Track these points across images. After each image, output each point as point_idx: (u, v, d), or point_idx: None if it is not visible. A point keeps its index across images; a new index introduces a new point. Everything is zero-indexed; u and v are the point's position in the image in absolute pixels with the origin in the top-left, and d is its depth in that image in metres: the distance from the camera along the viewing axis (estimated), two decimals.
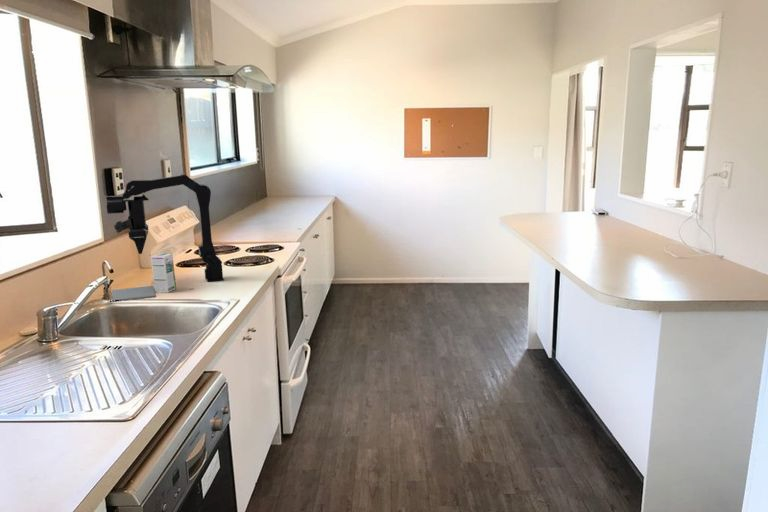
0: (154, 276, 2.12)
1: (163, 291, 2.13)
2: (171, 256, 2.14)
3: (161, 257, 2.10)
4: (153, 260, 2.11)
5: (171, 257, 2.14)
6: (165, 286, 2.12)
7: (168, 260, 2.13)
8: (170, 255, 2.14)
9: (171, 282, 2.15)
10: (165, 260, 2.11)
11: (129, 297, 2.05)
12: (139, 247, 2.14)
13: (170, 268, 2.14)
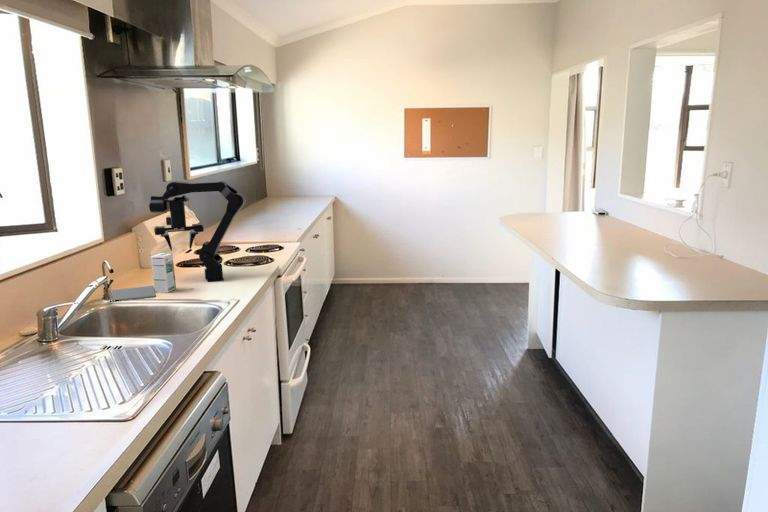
0: (154, 276, 2.12)
1: (163, 291, 2.13)
2: (171, 256, 2.14)
3: (161, 257, 2.10)
4: (153, 260, 2.11)
5: (171, 257, 2.14)
6: (165, 286, 2.12)
7: (168, 260, 2.13)
8: (170, 255, 2.14)
9: (171, 282, 2.15)
10: (165, 260, 2.11)
11: (129, 297, 2.05)
12: (168, 244, 2.27)
13: (170, 269, 2.14)
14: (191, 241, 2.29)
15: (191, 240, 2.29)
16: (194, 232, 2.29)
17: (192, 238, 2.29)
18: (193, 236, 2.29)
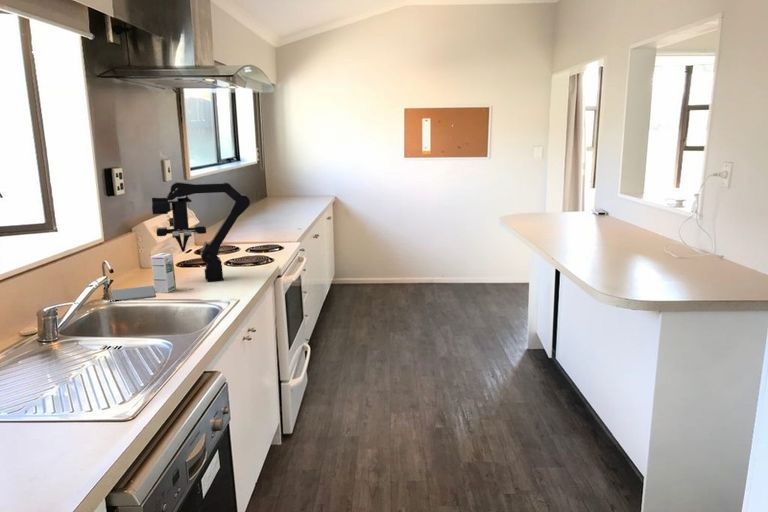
0: (154, 276, 2.12)
1: (163, 291, 2.13)
2: (171, 256, 2.14)
3: (161, 257, 2.10)
4: (153, 260, 2.11)
5: (171, 257, 2.14)
6: (165, 286, 2.12)
7: (168, 260, 2.13)
8: (170, 255, 2.14)
9: (171, 282, 2.15)
10: (165, 260, 2.11)
11: (129, 297, 2.05)
12: None
13: (170, 268, 2.14)
14: (184, 243, 2.24)
15: (184, 242, 2.24)
16: (187, 234, 2.24)
17: (185, 240, 2.24)
18: (186, 238, 2.23)
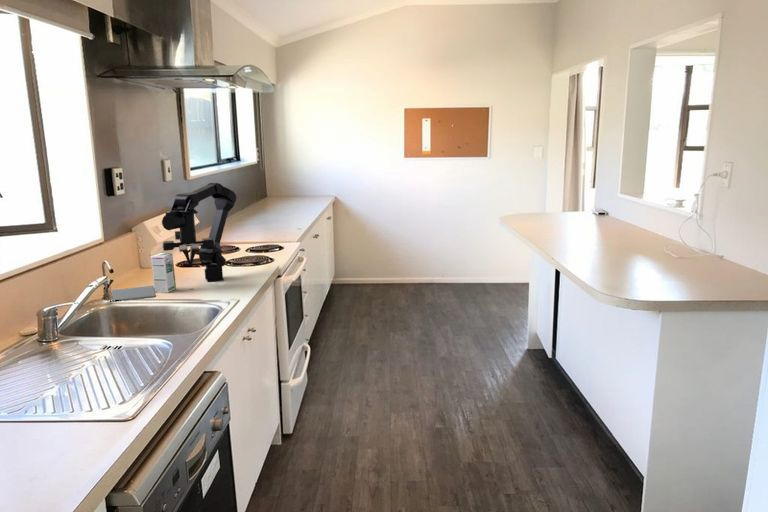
0: (154, 276, 2.12)
1: (163, 291, 2.13)
2: (171, 256, 2.14)
3: (161, 257, 2.10)
4: (153, 260, 2.11)
5: (171, 257, 2.14)
6: (165, 286, 2.12)
7: (168, 260, 2.13)
8: (170, 255, 2.14)
9: (171, 282, 2.15)
10: (165, 260, 2.11)
11: (129, 297, 2.05)
12: None
13: (170, 269, 2.14)
14: (192, 257, 2.16)
15: (192, 256, 2.16)
16: (195, 248, 2.16)
17: (193, 254, 2.16)
18: (194, 252, 2.15)
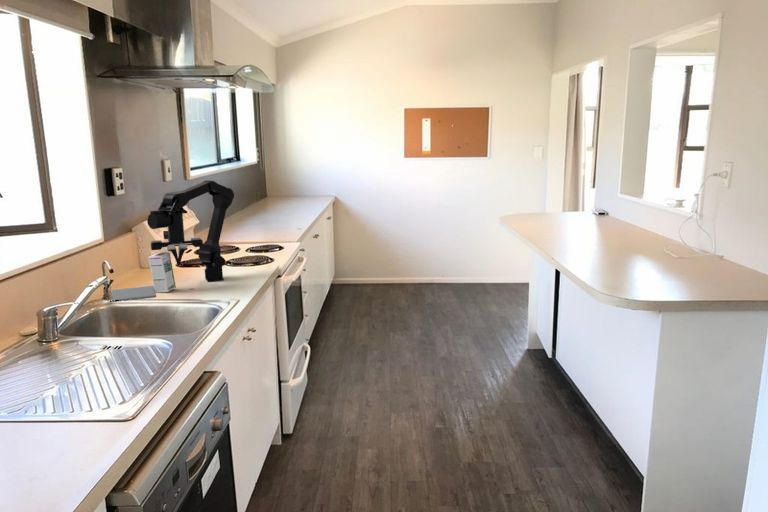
0: (153, 276, 2.12)
1: (163, 291, 2.13)
2: (168, 255, 2.14)
3: (158, 257, 2.10)
4: (151, 260, 2.11)
5: (168, 256, 2.14)
6: (165, 286, 2.12)
7: (166, 260, 2.12)
8: (168, 254, 2.14)
9: (171, 281, 2.15)
10: (163, 259, 2.10)
11: (129, 297, 2.05)
12: (175, 259, 2.15)
13: (168, 268, 2.13)
14: (180, 257, 2.14)
15: (180, 256, 2.14)
16: (183, 248, 2.14)
17: (181, 254, 2.14)
18: (182, 252, 2.13)
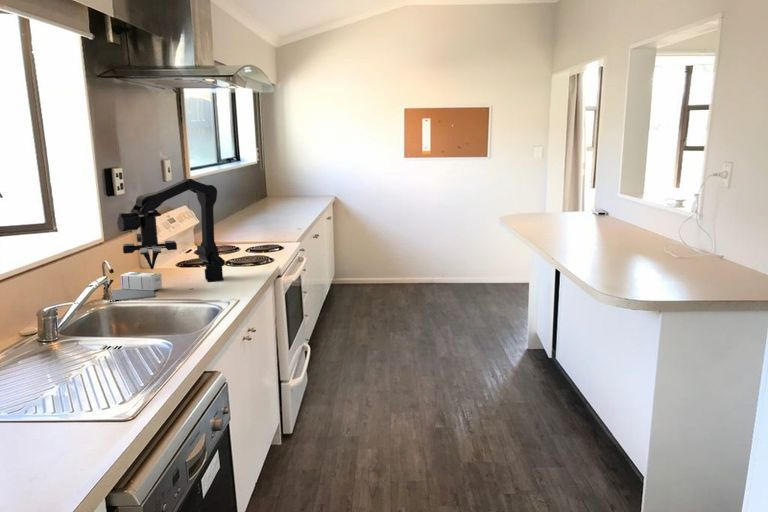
0: (139, 288, 2.14)
1: (152, 281, 2.13)
2: (130, 272, 2.19)
3: (121, 277, 2.15)
4: (124, 286, 2.16)
5: (130, 272, 2.19)
6: (147, 277, 2.13)
7: (129, 273, 2.17)
8: (129, 272, 2.19)
9: (150, 274, 2.16)
10: (124, 274, 2.15)
11: (129, 297, 2.05)
12: (148, 262, 2.11)
13: (137, 273, 2.17)
14: (153, 261, 2.10)
15: (153, 259, 2.10)
16: (157, 251, 2.10)
17: (154, 257, 2.10)
18: (155, 255, 2.10)
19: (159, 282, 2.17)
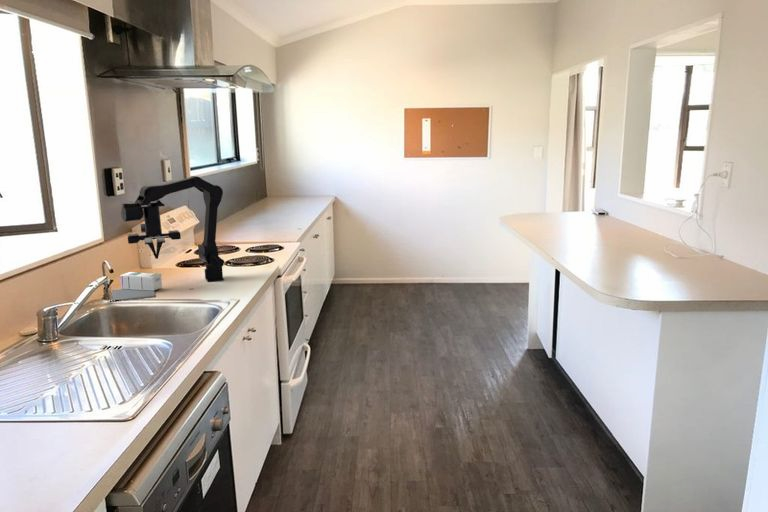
0: (139, 288, 2.14)
1: (152, 281, 2.13)
2: (130, 272, 2.19)
3: (121, 278, 2.15)
4: (124, 286, 2.16)
5: (130, 272, 2.19)
6: (147, 277, 2.13)
7: (129, 273, 2.17)
8: (128, 272, 2.19)
9: (150, 274, 2.16)
10: (124, 274, 2.15)
11: (129, 297, 2.05)
12: None
13: (137, 273, 2.17)
14: (158, 250, 2.14)
15: (158, 249, 2.13)
16: (161, 240, 2.14)
17: (159, 247, 2.13)
18: (160, 245, 2.13)
19: (159, 282, 2.17)
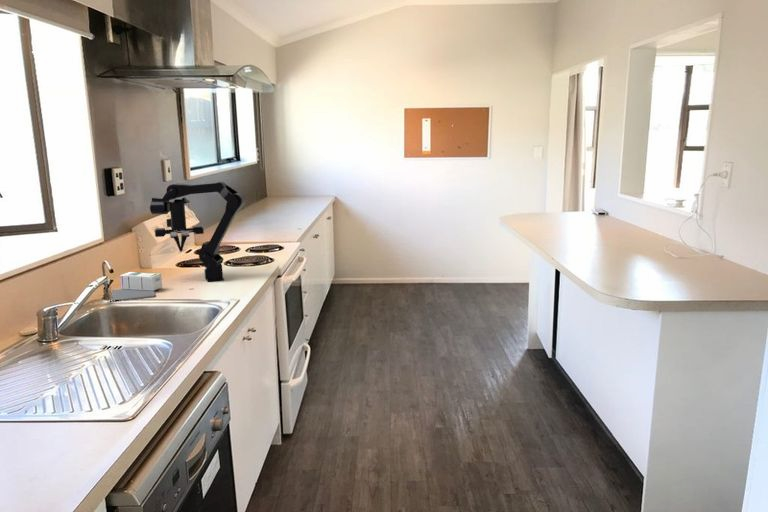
0: (139, 288, 2.14)
1: (152, 281, 2.13)
2: (130, 272, 2.19)
3: (121, 278, 2.15)
4: (124, 286, 2.16)
5: (130, 272, 2.19)
6: (147, 277, 2.13)
7: (129, 273, 2.17)
8: (128, 272, 2.19)
9: (150, 274, 2.16)
10: (124, 274, 2.15)
11: (129, 297, 2.05)
12: (177, 245, 2.30)
13: (137, 273, 2.17)
14: (182, 244, 2.29)
15: (182, 243, 2.29)
16: (185, 235, 2.29)
17: (183, 241, 2.28)
18: (184, 239, 2.28)
19: (159, 282, 2.17)
